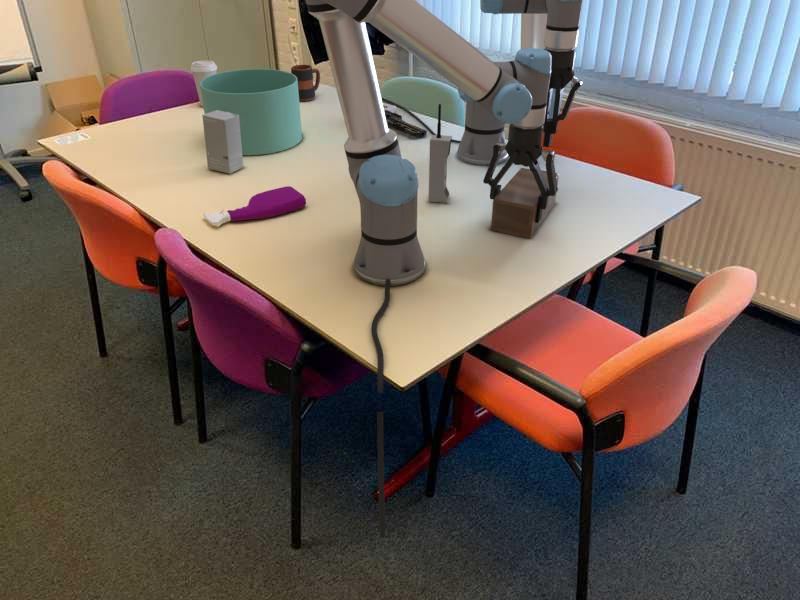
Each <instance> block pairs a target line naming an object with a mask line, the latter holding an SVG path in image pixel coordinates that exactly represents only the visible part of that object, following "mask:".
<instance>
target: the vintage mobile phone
mask: <svg viewBox="0 0 800 600" xmlns="http://www.w3.org/2000/svg"><path fill="white" fill-rule="evenodd" d="M437 111H438V112H437V127H436V129H437V130H436V134H437V135H431V138H430V140H429V161H428V162H429V163H428V164H429V165H428V197H427V198H428V201H427V202H431V203H441V204H448V201H449V198H450V192H449V189H448V188H447V174H448V173H447V172H448V160H449V156H450V155H451V154H450V153H451V146H452V142H451V140H452V139H453V136H452V135H443V134H442V133H441V132H442V122H441V118H442V104H441V103H439V104H438V110H437Z"/></svg>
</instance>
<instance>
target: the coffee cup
mask: <svg viewBox="0 0 800 600" xmlns="http://www.w3.org/2000/svg"><path fill="white" fill-rule="evenodd" d="M189 70H190V71H191V72H192V76H193V80H194V84H195V88H196V91H197V92H196V93H197V96H198V99H199V103H200V106H201V107H202V108H203V102H202V96H201V90H200V82H201V81H202V80H203V79H204V78H206V77H208V76H211V75H214V74H217V73H218V72H217V70H218V65H217V64H216V62H215V61H214V60H210V59H209V60H207V59H206V60H196V61H193V62H192V63H191V65H190V69H189Z"/></svg>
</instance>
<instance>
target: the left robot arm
mask: <svg viewBox="0 0 800 600" xmlns="http://www.w3.org/2000/svg"><path fill="white" fill-rule="evenodd" d="M304 1H305V4H306V8H307V11H308V14H310V15H311V16H313V17H314V18H316V19H317V20H318V23H319V26H320V30H321V34H322V39H323V42H324V47H325V51H326V53H327V58H328V61H329V65H330V70H331V72H332V77H333V81H334V85H335V88H336V94H337V97H338V100H339V105H340V109H341V112H342V115H343V121H344V125H345V128H346V132H347V136H348V137H347V139H346V140H345V142H344V144H343V148H344V152H345V153H344V154H345V157H346V160H347V164H348V174H349V177H350V179H351V181H352V183H353V186H354V188H355V192H356V195H357V198H358V202H359V206H360V207H359V208H360V211H359V212H360V239H359V242H358V247H357V249H356V252H355V256H354V259H353V270H354V273H355V275H356V276H357V277H358V278H359V279H360V280H362V281H364V282H366V283H369V284H370V285H371V284H372V285H376V286H382V287H384V299H383V302H382V305H381V307H380V308H379V309H378V311H377V312H376V313H375V315H374V317H373V319H372V322H371V330H370V331H371V337H372V340H373V341H374V346H375V349H376V354H377V371H376V372H377V374H376V375H377V376H376V391H377V393H378V394H382V393H384V367H385V363H384V362H385V361H384V359H385V358H384V352H383V347H382V344H381V341H380V338H379V336H378V323H379V320H380V319H381V317H382V315H384V313H385V311H386V309H387V307H388V306H389V304H390V303H389V302H390V299H391V287H395V286H402V285H406V284H410V283H413V282H415V281H417V280H418V279H420V278H421V276H423V274H424V273H425V270H426V261H425V255H424V252H423V250H422V247H421V244H420V241H419V238H418V195H419V194H418V189H419V184H420V183H419V178H418V171H417V170H418V169H417V168H416V166H415V165H414V163H412V162H411V160H409V159H407V158H403V157H402V153H401V148H400V143H399V139H398V133H397V132H396V131H395V130H393V129H391V128H390V127H389V126H388V125H387V121H386V116H385V112H384V107H383V105H384V103H383V100H382V98H383V97H382V94H381V89H380V85H379V80H378V76H377V75H378V74H377V71H376V66H375V62H374V57H373V53H372V48H371V43H370V38H369V34H368V30H367V29H368V28H367V25H366V23H369V24H370V25H371V26H373V27H374V28H375V29H377V30H378V31H379V32H381V33H382V34H384V35H385V36H387V37H388V38H389V39H390V40H392V41H393V42H394V43H396V44H397V45H398V46H400V47H401V48H403V49H404V50H406V51H407V52H408V53H409V54H411V55H413V57H415V58H416V59H418V61H421V62H422V63H423V64H425V65H426V66H427V67H429V69H431V70H433V72H436V74H438V75H439V76H441V77H442V78H443V79H445V80H447V82H449V83H451V84H452V85H454V87H457V92H458V96H459V98H460V100H461V101H464V102H467V101H473V102H474V101H476V102H477V103H479V104H480V105H481V106H483V107H484V108H486V109H487V110H488V111H490V112H491V113H492V114H493V115H494V116H495V117H496V118H497V119H498V120H500V121H502V122H504V123H505V124H506V125H508V135H507V136H508V138H507V142H506V143H507V144H501V142H498V143H496V144H495V145H494V147H493V156H492V159H491V162H490V164H489V165H488V167H487V169H486V171H485V174H484V178H483V180H482V182H483V184H485V185H486V184H487V185H489V187H490V189H489V191H490V192H489V199H490V200H493V199H494V198H495V197H496V195H497V194H498V193H499V192H500V191H501V190H502V184H499V183H500V181H501V180H502V179H503V177H504V176H505V175H506V173H507V172H508V171H509V170H510V168H511V167H512V166H513V164H514V166H523V167H524V168H528V169H530V170H531V171H532V173H533V175H534V178H535V180H536V182H537V185H538V187H539V190H540V192H541V194H540V195H539V197H538V204H537V212H536V220H535V223H539V221H540V220H541V218H542V211H543V209H544V210H545V209H546V207H547V206H548V199H549V196H554V195H555V194H556V195H557V193H558V192H559V187H558V185H557V180H556V173H557V172H556V167H555V156H556V152H555V150H552V149H551V150H550V151H549V150H544V149H543V148H544V147H543V139H544V132H543V130H544V127H543V124H544V121H545V114H546V106H547V105H546V104H547V95H548V89H549V82H550V76H551V64H552V62H551V61H552V57H551V54H550V53H549V52H548V51H546V50H543V49H537V48H525V49H519V50H517V51H516V53H515V57H514V60H509V61H493V59H490V57H488V56H487V55H485V53H483V52H482V51H481V50H479V49H478V48H476V47H475V46H474V45H473V44H472V43H470V42H469V41H468V40H467V39H465V38H464V37H463V36H461V35H460V34H459V33H458V32H457V31H455V30H453V28H451V27H450V26H449V25H447V24H446V23H445V22H444V21H442V20H441V19H440V18H438V17H437V16H436V15H435V14H433V12H431V11H430V10H428V9H427V8H426V7H424V6H423V5H422V4H421V3H420V2H418V0H304ZM504 150H506V152H507V154H508V158H507V160H506V161H505V163H504V165H503V166H502V168H501V169H500V170H499V172H498V173H497V175H496V176H495V177H494V178H493V176H494V173H495V170H496V168H497V165H498V164H497V163H498V161H499V158H500V155H501V154H502V153H503V152H504ZM540 157H542V158H543V161H544V162H545V171H547V178H548V184H549V187H548V185H547V183H546V180H545V178H544V175H543V173H542V171H541V170H542V168H541V165H540V162H539V158H540ZM376 425H377V426H376V429H377V433H376V434H377V437H376V438H377V475H378V476H377V477H378V478H377V479H378V481H377V482H378V509H379V512H378V513H379V514H378V515H379V537H380V538H381V539H384V538H386V504H385V503H386V501H385V464H384V463H385V461H384V460H385V459H384V458H385V457H384V456H385V455H384V454H385V453H384V411H383V410H382V411H376Z"/></svg>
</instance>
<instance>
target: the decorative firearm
mask: <svg viewBox="0 0 800 600" xmlns="http://www.w3.org/2000/svg"><path fill="white" fill-rule="evenodd" d="M383 107H384V112H385V116H386V121H387V125H388V127H391V128H393V129H395V130H397V131H399V132H401V133H404V134H406V135H408V136H411V137H415V138H416V137H419V138H424V137H426V136H427V132H428V130H427V129H423V128H421V127H420V126H416V125H413V124H411V123H409V122H406V121H405V120H403V115H401V114H399V113H397V110H398V107H397V106H395V105H393V104H390V103H389V104H388V103H385V104H383Z"/></svg>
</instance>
